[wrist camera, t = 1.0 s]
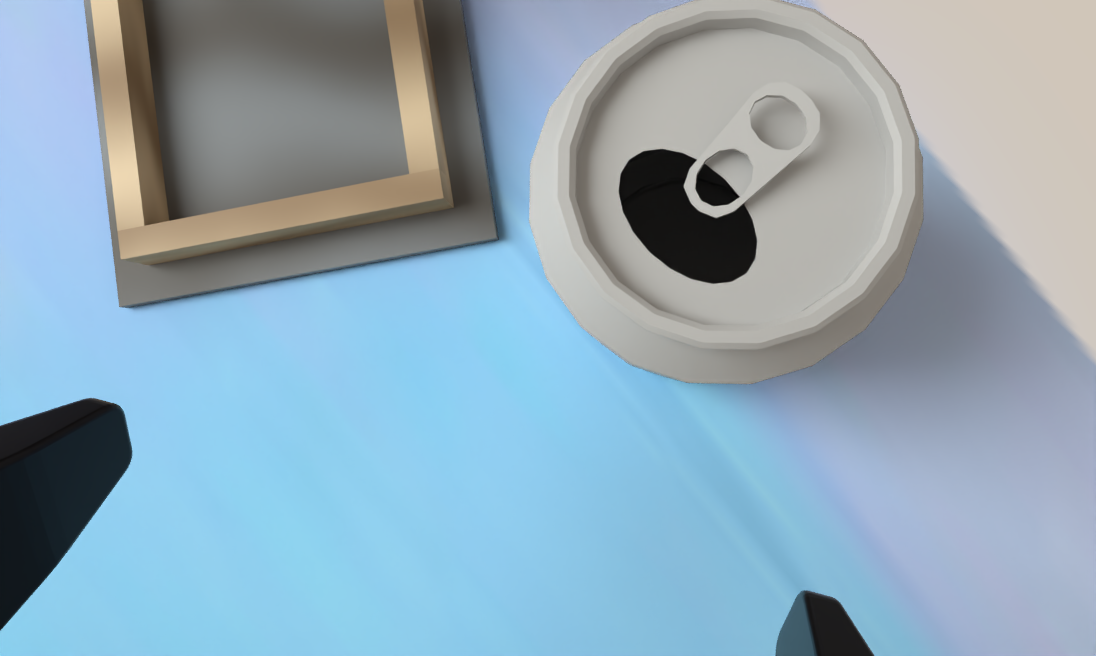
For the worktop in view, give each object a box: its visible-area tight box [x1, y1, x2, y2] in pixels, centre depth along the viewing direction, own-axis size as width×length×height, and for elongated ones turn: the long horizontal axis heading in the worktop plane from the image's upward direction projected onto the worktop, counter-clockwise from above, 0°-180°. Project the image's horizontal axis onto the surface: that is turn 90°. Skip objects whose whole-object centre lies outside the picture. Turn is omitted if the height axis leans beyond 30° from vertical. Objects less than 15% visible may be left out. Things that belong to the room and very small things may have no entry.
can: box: [529, 0, 923, 384], centre depth 18 cm, size 8×8×12 cm
